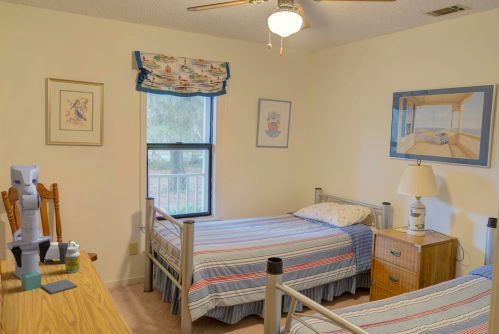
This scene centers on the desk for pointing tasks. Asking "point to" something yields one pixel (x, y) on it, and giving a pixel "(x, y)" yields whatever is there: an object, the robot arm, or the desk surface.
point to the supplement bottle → (72, 260)
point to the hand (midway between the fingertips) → (30, 264)
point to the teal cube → (31, 280)
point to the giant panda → (58, 251)
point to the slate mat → (59, 286)
